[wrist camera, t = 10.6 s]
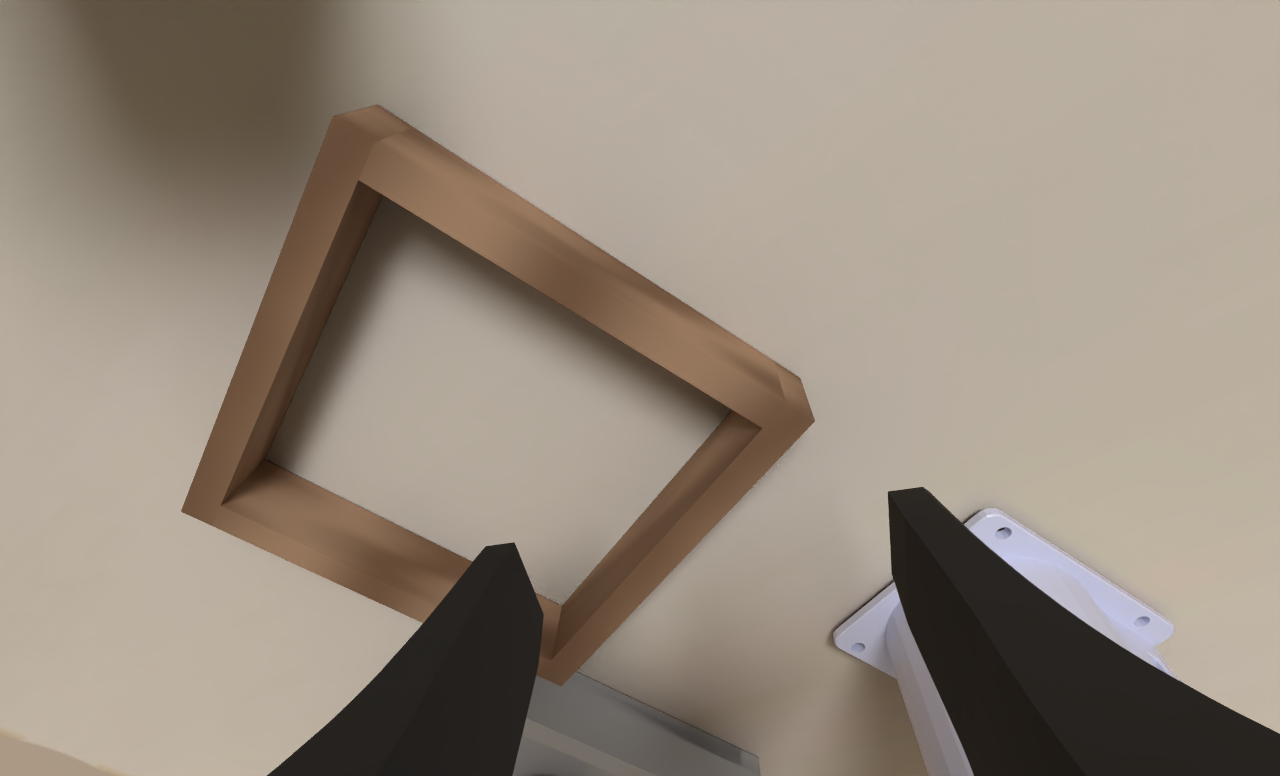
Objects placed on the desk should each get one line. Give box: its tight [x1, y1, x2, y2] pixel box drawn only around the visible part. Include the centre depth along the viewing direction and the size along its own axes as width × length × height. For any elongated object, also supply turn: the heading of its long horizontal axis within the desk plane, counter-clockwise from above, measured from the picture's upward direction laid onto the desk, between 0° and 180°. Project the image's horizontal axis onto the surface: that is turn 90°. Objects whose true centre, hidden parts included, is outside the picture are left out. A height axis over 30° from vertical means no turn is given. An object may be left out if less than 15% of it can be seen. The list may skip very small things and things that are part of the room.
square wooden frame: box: [181, 105, 815, 686], centre depth 20 cm, size 14×14×2 cm
